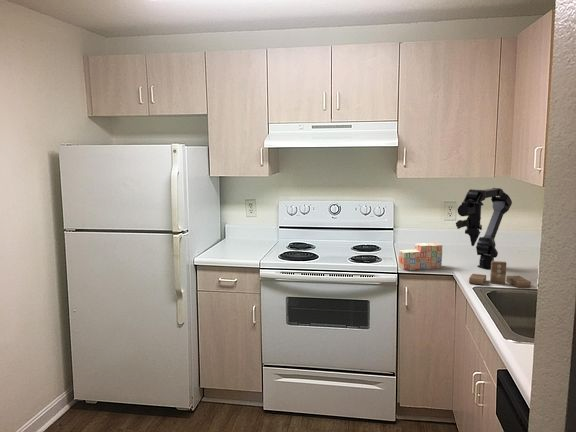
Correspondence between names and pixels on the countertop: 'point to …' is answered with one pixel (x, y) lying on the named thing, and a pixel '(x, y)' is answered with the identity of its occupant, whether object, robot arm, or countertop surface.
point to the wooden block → (477, 279)
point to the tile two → (518, 281)
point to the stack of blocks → (421, 257)
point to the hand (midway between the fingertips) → (472, 245)
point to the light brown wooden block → (498, 272)
